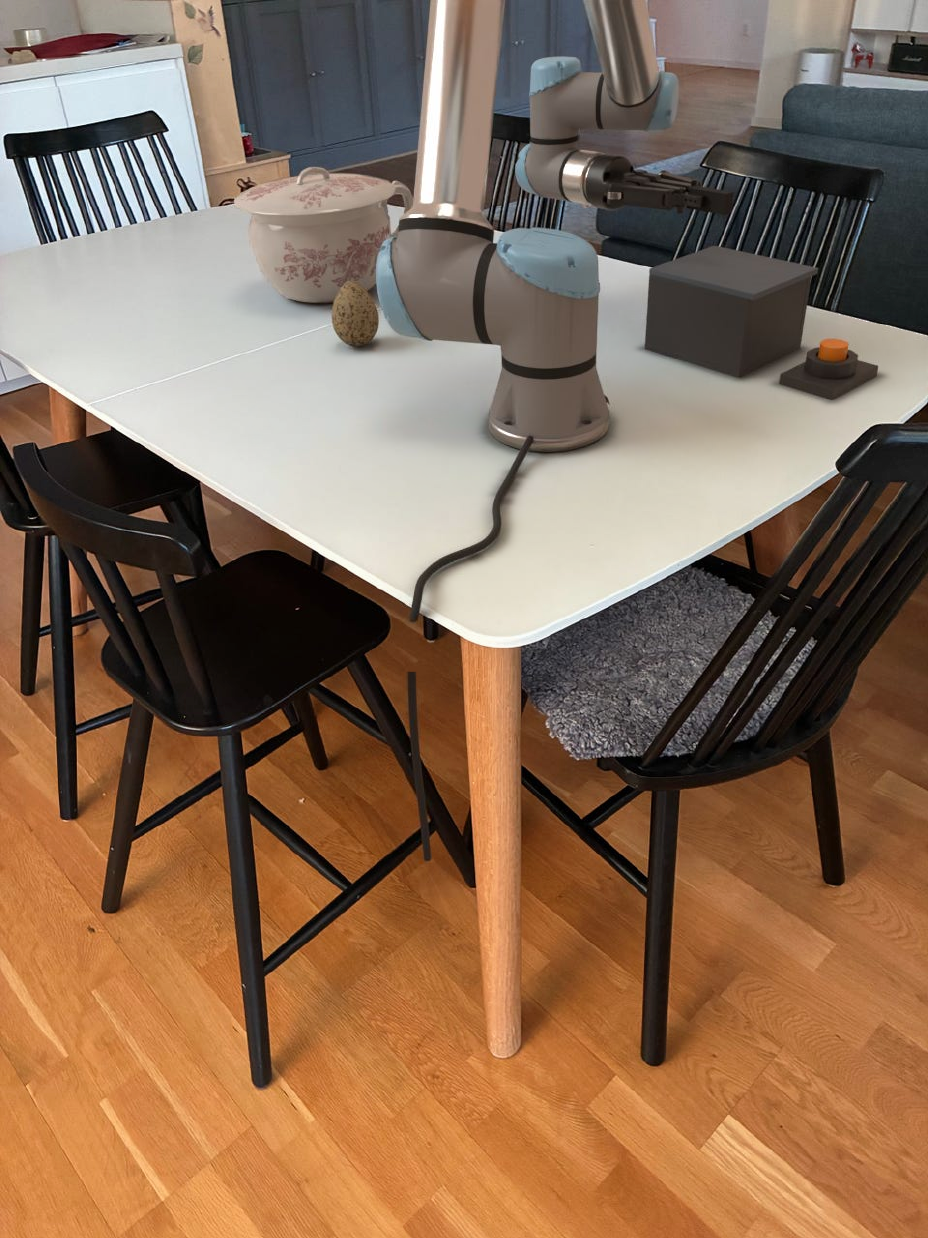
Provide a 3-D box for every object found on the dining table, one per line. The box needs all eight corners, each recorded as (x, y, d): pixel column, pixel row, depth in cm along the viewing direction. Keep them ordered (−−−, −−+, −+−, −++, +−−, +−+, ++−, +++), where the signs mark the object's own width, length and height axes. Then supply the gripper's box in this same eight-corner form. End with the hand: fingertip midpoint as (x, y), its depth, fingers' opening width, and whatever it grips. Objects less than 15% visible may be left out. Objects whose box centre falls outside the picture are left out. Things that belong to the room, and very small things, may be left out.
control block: (876, 376, 132) (881, 351, 130) (831, 400, 127) (836, 374, 125) (824, 361, 137) (828, 337, 135) (778, 384, 132) (782, 359, 130)
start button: (851, 357, 130) (854, 342, 129) (836, 365, 128) (839, 350, 127) (827, 351, 132) (829, 336, 131) (812, 358, 130) (814, 343, 129)
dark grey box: (800, 348, 141) (812, 272, 135) (738, 378, 134) (748, 299, 128) (706, 322, 152) (713, 251, 146) (644, 348, 144) (649, 274, 138)
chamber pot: (225, 314, 167) (200, 185, 154) (285, 267, 188) (267, 150, 176) (380, 320, 160) (366, 185, 148) (425, 270, 182) (416, 149, 170)
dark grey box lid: (817, 273, 135) (818, 267, 134) (753, 300, 127) (754, 294, 127) (713, 250, 146) (714, 245, 145) (649, 273, 138) (649, 268, 138)
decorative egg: (390, 341, 152) (384, 277, 146) (361, 356, 148) (354, 290, 142) (355, 334, 156) (347, 271, 150) (326, 349, 151) (317, 284, 145)
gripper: (627, 198, 152) (754, 222, 138) (569, 215, 146) (696, 242, 131) (629, 145, 148) (761, 165, 133) (570, 161, 141) (701, 182, 127)
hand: (728, 203), depth 132 cm, fingers closed
